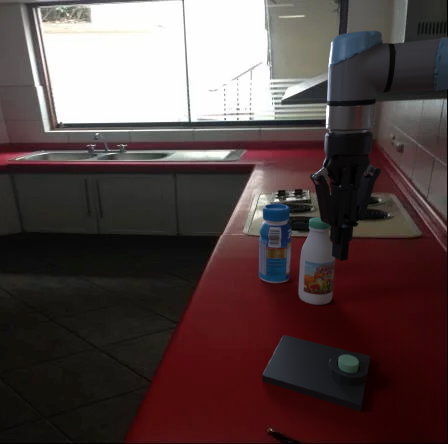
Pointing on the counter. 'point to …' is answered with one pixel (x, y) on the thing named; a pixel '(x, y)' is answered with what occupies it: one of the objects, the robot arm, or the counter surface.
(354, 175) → the robot arm
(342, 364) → the button
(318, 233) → the milk bottle
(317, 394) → the scale
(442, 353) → the counter surface
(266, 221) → the beverage bottle
